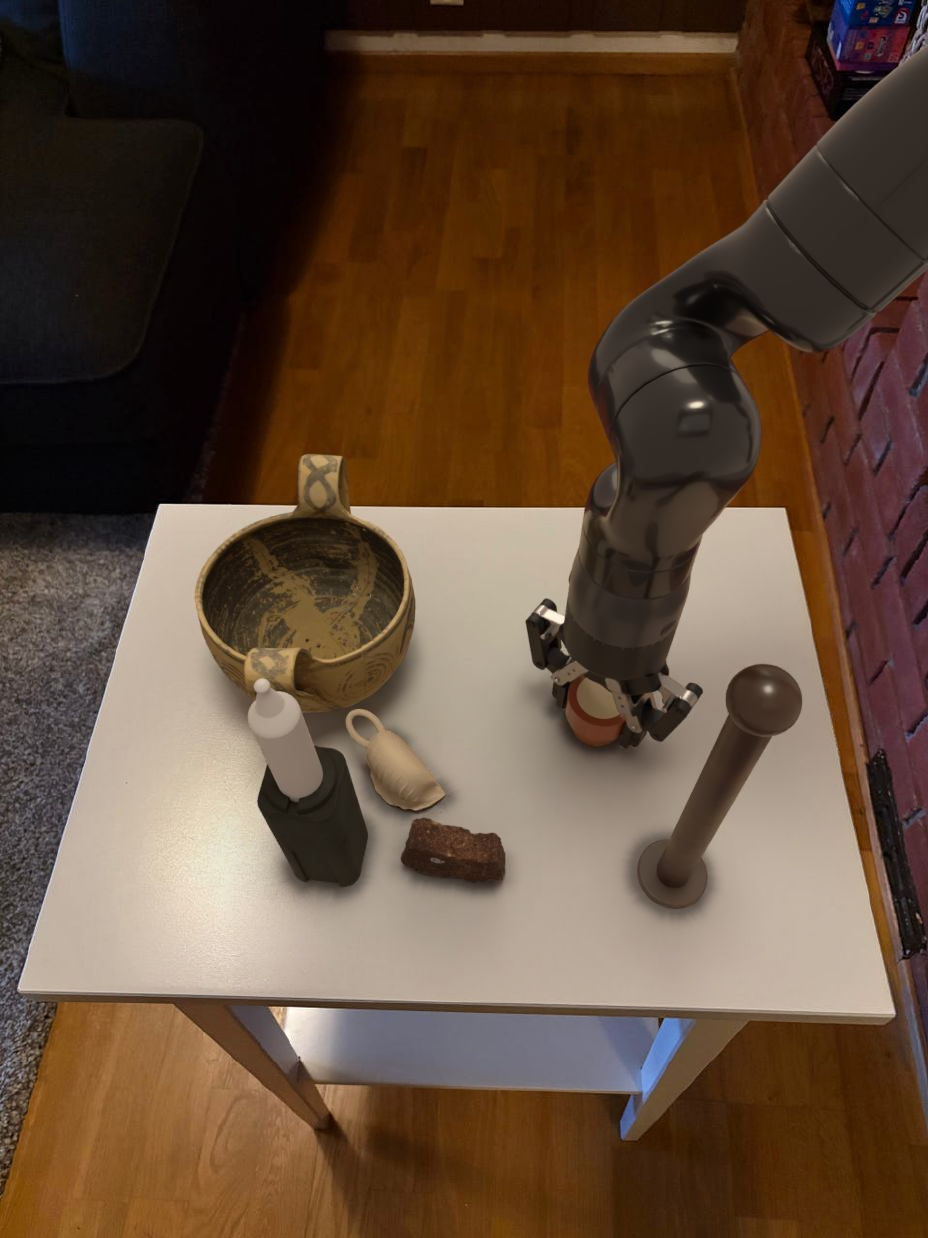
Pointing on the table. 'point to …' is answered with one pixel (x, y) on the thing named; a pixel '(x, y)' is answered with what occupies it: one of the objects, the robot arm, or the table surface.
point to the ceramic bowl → (309, 598)
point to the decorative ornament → (396, 767)
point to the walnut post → (720, 782)
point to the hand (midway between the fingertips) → (596, 719)
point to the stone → (453, 852)
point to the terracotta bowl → (593, 712)
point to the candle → (306, 793)
